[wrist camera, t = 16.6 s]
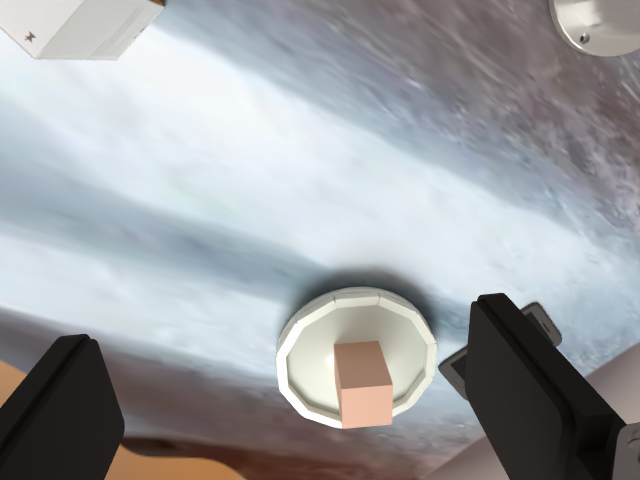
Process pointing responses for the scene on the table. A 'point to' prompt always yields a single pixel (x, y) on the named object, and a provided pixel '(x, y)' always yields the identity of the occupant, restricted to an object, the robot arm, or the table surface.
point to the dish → (351, 327)
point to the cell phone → (456, 363)
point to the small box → (76, 26)
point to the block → (362, 385)
